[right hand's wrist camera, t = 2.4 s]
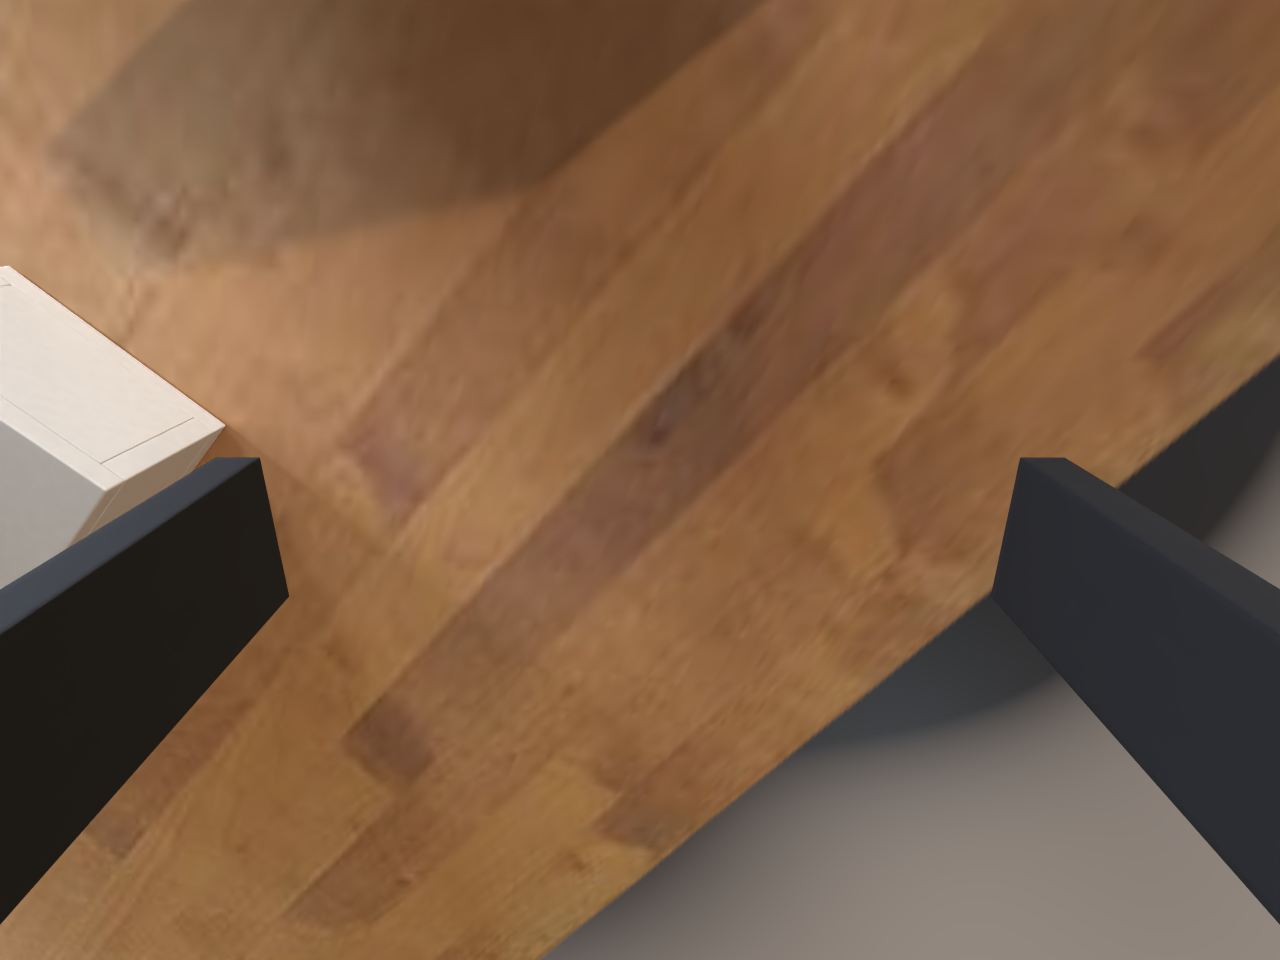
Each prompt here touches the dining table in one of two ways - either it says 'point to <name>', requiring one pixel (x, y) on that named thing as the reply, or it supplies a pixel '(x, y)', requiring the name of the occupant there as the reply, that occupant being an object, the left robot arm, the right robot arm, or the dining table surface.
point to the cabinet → (79, 429)
